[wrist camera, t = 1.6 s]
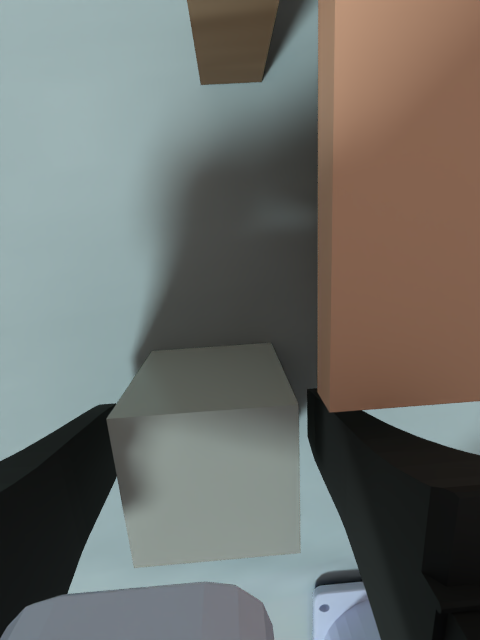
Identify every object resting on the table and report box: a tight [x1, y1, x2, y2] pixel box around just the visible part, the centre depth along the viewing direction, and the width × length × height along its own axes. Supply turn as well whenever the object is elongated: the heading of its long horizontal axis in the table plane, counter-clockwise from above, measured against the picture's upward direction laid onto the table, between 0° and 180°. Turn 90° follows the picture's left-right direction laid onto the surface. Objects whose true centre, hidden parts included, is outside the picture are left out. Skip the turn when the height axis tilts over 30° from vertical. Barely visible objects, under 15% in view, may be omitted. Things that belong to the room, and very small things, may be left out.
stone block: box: [106, 343, 301, 568], centre depth 11 cm, size 5×5×5 cm
